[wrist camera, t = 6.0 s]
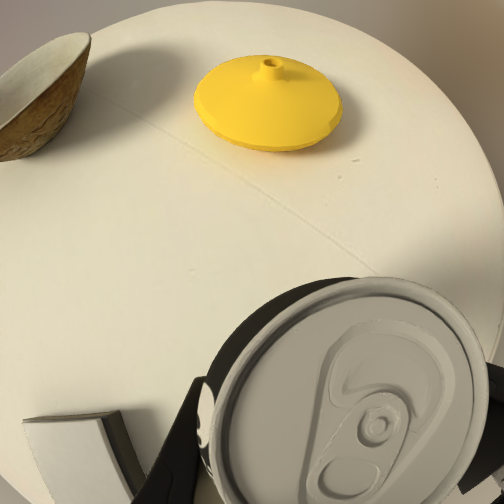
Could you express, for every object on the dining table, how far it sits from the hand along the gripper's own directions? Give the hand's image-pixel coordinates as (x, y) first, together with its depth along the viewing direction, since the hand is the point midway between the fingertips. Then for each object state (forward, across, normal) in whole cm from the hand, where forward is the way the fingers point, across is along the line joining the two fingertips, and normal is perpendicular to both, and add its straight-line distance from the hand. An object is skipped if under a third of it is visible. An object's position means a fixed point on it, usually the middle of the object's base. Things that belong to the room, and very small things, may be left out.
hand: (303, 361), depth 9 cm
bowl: (+32, +25, -16) cm, 44 cm away
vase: (+26, -6, -9) cm, 28 cm away
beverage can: (+4, 0, +6) cm, 7 cm away
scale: (+3, +18, +14) cm, 23 cm away
